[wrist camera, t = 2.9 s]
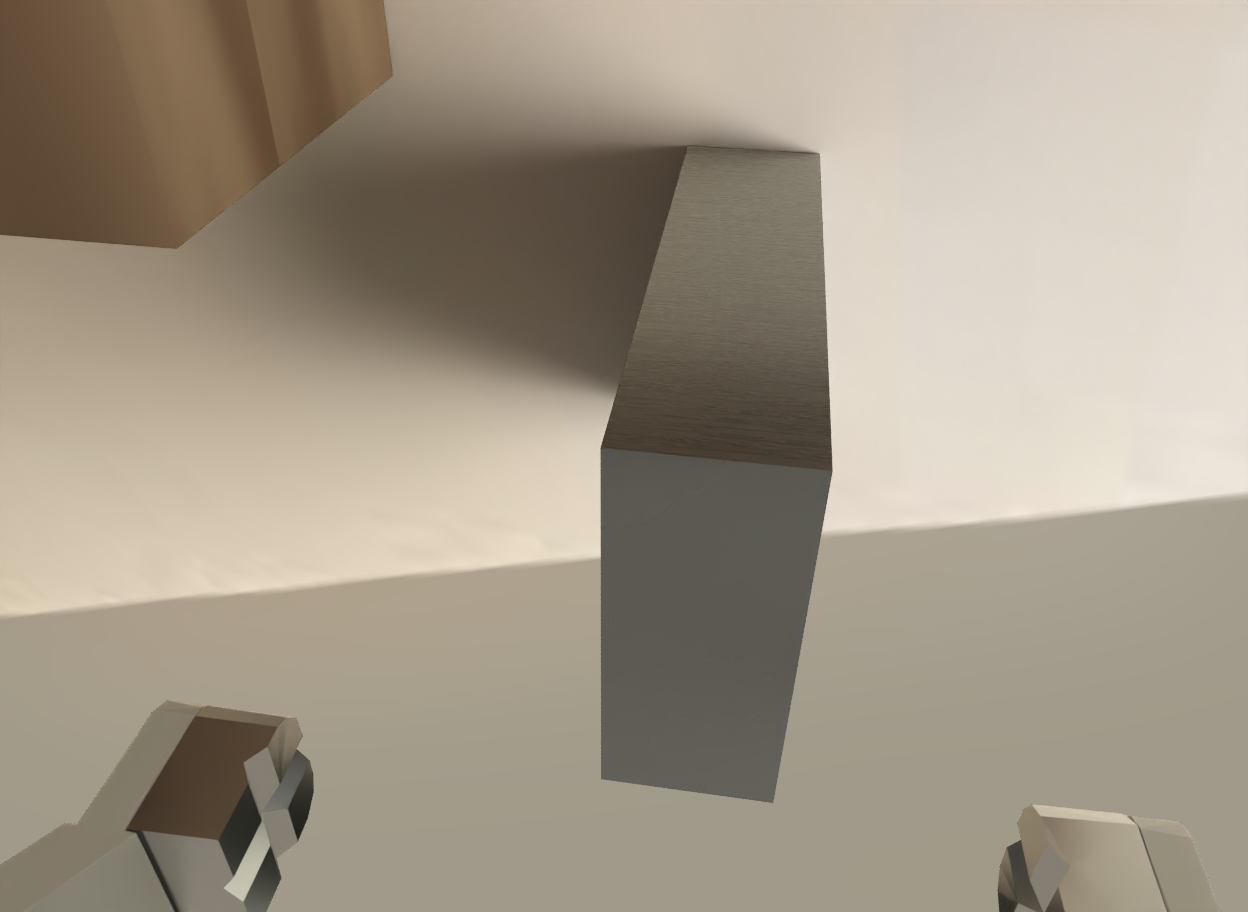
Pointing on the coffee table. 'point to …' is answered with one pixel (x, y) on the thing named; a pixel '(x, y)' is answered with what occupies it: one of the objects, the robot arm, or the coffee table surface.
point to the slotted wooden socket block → (167, 106)
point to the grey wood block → (717, 480)
